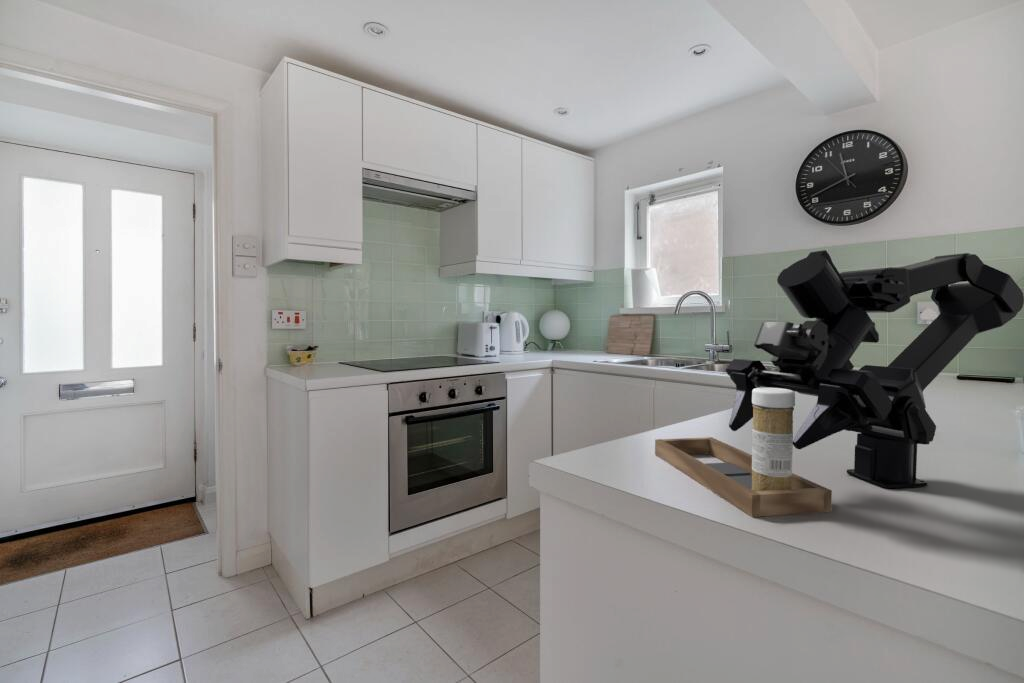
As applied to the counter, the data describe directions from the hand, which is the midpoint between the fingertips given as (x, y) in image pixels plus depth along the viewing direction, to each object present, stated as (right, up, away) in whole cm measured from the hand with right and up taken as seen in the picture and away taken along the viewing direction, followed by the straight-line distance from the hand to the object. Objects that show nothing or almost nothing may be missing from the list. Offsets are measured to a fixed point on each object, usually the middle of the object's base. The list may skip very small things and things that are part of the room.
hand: (761, 437), depth 57 cm
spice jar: (+2, -8, +1) cm, 8 cm away
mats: (0, -8, +9) cm, 12 cm away
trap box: (0, -8, +9) cm, 12 cm away
